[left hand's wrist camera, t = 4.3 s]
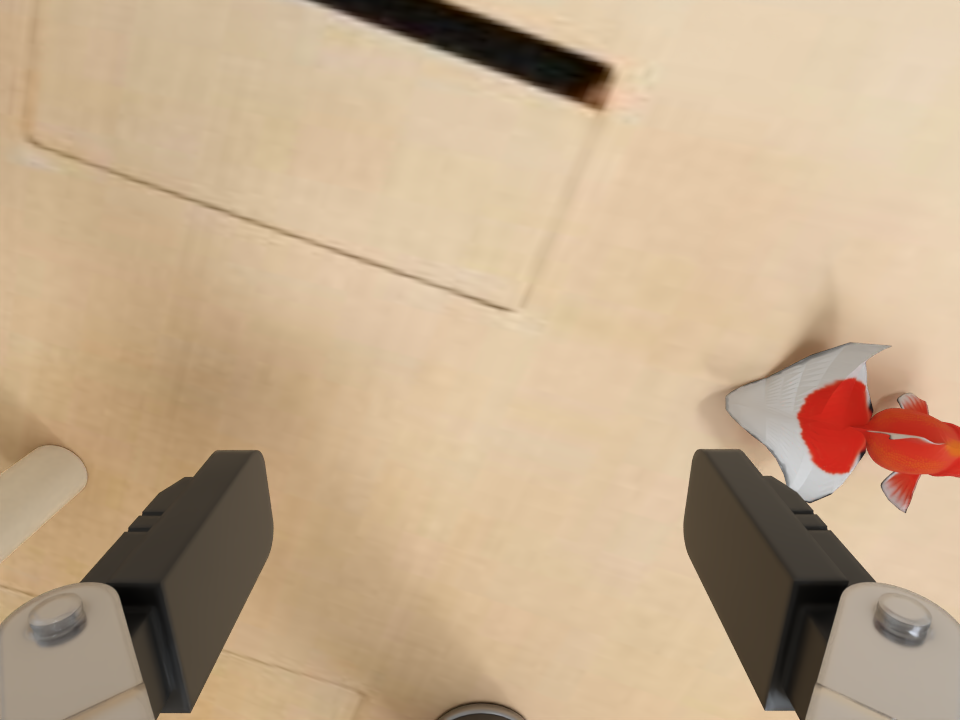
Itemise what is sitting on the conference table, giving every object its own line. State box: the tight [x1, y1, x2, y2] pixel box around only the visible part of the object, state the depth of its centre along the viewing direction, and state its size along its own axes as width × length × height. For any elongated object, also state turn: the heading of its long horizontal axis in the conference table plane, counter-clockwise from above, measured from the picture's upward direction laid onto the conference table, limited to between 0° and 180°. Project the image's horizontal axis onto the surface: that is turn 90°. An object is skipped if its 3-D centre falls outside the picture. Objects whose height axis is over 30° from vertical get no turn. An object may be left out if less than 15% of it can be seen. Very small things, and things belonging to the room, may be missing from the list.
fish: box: [726, 343, 960, 513], centre depth 39 cm, size 11×16×10 cm
